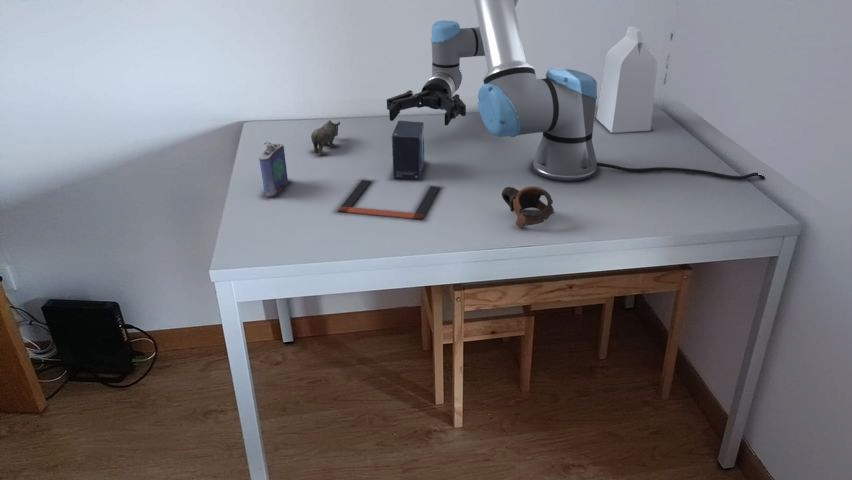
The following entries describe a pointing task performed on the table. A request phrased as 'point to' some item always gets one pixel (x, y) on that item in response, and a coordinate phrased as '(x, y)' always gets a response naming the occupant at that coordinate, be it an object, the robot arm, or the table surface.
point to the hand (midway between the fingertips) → (418, 117)
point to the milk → (628, 85)
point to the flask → (273, 169)
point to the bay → (418, 215)
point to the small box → (408, 150)
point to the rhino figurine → (324, 136)
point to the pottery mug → (528, 204)
